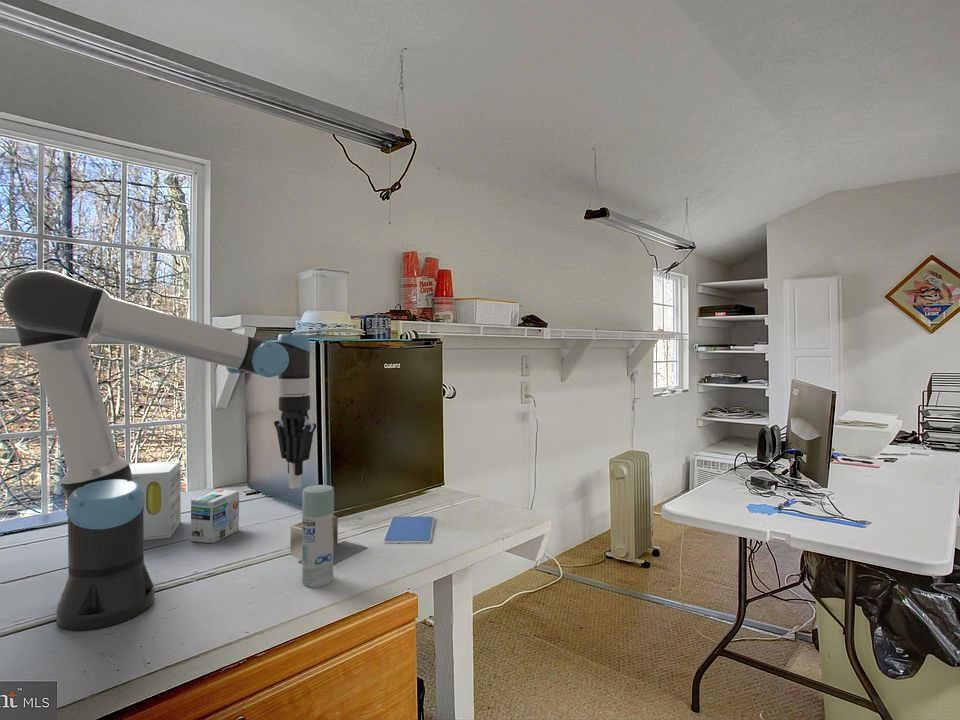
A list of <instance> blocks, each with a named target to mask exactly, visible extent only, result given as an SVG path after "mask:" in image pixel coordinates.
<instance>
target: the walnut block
mask: <svg viewBox="0 0 960 720" xmlns="http://www.w3.org/2000/svg"><path fill="white" fill-rule="evenodd" d="M338 518H339V517H338V516H336V515H334V533H333V546H334V545H336V544H338V543H339V542H338V541H339V540H338V536H339V535H338V532H339V531H338V530H339V529H338V528H339V527H338V526H339V525H338V522H339V519H338ZM289 544H290V545H289V546H290V553H289V554H290V556H292V557H295V558H298V559H300V560H302V521H301V522H298V523H296V524H294V525H291V526H290V543H289Z"/></svg>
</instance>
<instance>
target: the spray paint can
mask: <svg viewBox="0 0 960 720" xmlns="http://www.w3.org/2000/svg"><path fill="white" fill-rule="evenodd" d="M301 495H302V496H301V497H302V498H301V499H302V500H301V501H302V502H301V503H302V506H301V507H302V508H301V510H302V512H301V513H302V514H301V516H302V517H301V519H302V520H301V522H302V559H301V560H302V563H301V564H302V566H301V567H302V572H301V573H302V576H301V577H302V580H301V581H302V584H303V586H305V587H306V588H307V587H308V588H314V589H315V588H321V587H326V586H327V585H329V584H331V583H332V582H333V578H334V565H333V533H334V516H335V515H334V513H335V511H334V510H335V490H334V487H333V486H331V485H328V484H315V485H309V486H306V487H304V488H303V490H302V493H301Z"/></svg>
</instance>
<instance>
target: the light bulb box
mask: <svg viewBox="0 0 960 720" xmlns="http://www.w3.org/2000/svg"><path fill="white" fill-rule="evenodd" d="M239 524H240V491H238V490H228V489H227V490H226V489H216V490H214V491H211V492H209V493H206V494H203V495H201V496H199V497H196V498H193V499H191V500H190V541H191V542H195V543H196V542H197V543H204V544H205V543H206V544H214V543H215V542H218V541H220V540H222V539H224V538H226V537H227V536H230V535H231V534H233V533H236V532H238V531H239V530H240V528H239V527H240V525H239Z"/></svg>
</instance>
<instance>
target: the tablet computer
mask: <svg viewBox="0 0 960 720" xmlns="http://www.w3.org/2000/svg"><path fill="white" fill-rule="evenodd" d="M389 521H390V522H389V523H388V524H389V525H388V527H387V530H386V532H385V534H384V536H383V540H382V544H384V545H428V544H427V543H430V544H431V543H432V540H433V532H434V525H435V517H434V516H392V517H391V519H390V520H389ZM419 543H420V544H419ZM423 543H425V544H423Z"/></svg>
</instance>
